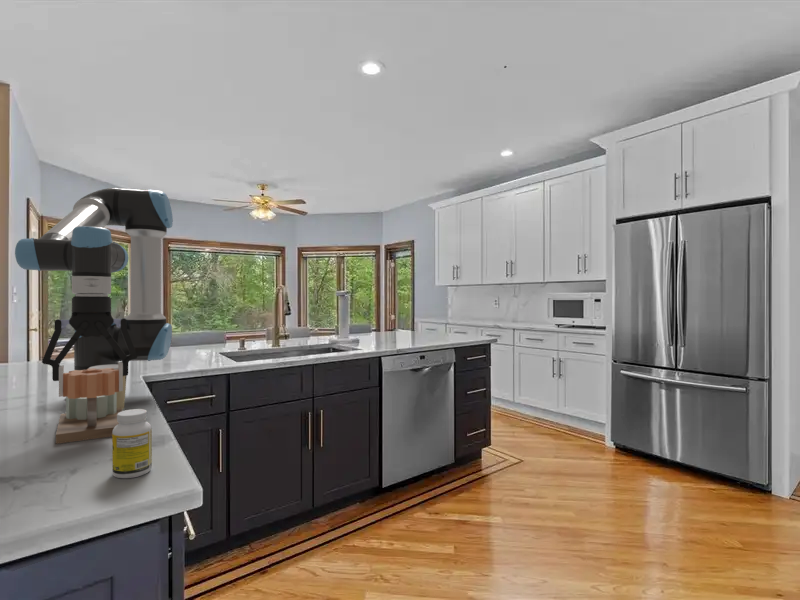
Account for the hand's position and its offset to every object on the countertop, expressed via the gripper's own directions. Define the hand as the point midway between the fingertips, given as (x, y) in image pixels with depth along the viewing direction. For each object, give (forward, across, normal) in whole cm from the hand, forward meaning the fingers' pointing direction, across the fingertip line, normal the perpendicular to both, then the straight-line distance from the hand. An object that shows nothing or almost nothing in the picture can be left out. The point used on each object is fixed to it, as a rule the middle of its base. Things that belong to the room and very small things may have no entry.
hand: (91, 392), depth 108 cm
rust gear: (0, 0, 0) cm, 0 cm away
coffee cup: (+10, +4, +24) cm, 26 cm away
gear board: (+9, 0, +6) cm, 11 cm away
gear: (+7, 0, +12) cm, 14 cm away
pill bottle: (+10, +6, -30) cm, 33 cm away
